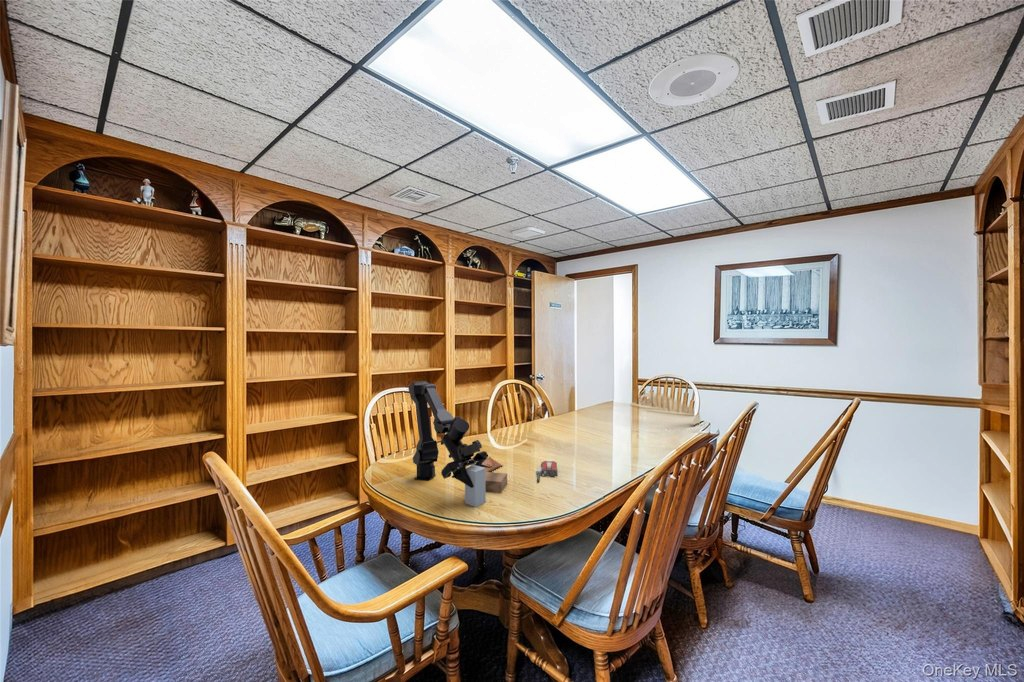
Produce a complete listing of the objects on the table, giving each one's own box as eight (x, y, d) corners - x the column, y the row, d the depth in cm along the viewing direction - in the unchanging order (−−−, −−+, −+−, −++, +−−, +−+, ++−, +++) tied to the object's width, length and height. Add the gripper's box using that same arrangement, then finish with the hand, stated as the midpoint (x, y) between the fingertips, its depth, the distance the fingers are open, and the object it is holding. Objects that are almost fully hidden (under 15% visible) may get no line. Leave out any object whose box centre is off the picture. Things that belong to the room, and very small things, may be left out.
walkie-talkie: (537, 466, 175) (535, 483, 155) (537, 457, 175) (535, 472, 155) (557, 467, 174) (557, 484, 154) (557, 457, 174) (557, 473, 154)
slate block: (465, 503, 137) (464, 468, 136) (475, 498, 141) (474, 465, 140) (475, 507, 134) (475, 471, 133) (485, 502, 137) (485, 468, 137)
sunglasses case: (483, 478, 160) (476, 463, 162) (470, 484, 163) (464, 469, 165) (504, 465, 176) (498, 451, 178) (493, 471, 179) (486, 457, 180)
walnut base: (478, 490, 148) (478, 479, 148) (485, 481, 157) (485, 471, 157) (501, 492, 146) (501, 481, 146) (507, 483, 154) (507, 473, 154)
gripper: (446, 439, 132) (470, 480, 125) (484, 429, 146) (508, 464, 140) (431, 458, 137) (453, 498, 130) (469, 446, 151) (491, 481, 145)
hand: (478, 484), depth 136 cm, fingers closed on slate block, 5 cm apart
